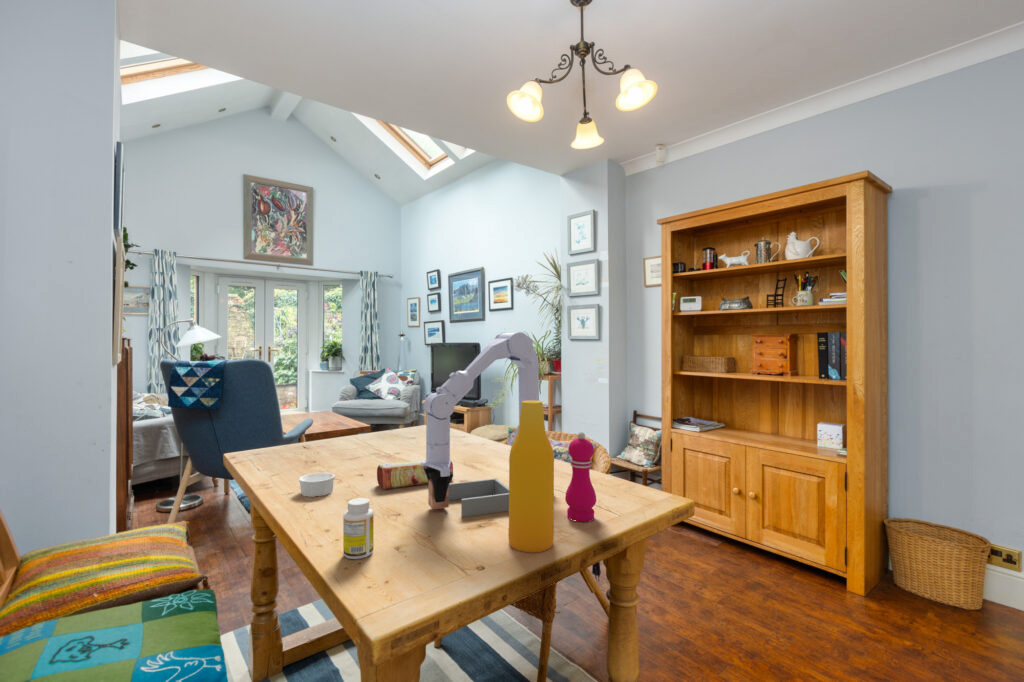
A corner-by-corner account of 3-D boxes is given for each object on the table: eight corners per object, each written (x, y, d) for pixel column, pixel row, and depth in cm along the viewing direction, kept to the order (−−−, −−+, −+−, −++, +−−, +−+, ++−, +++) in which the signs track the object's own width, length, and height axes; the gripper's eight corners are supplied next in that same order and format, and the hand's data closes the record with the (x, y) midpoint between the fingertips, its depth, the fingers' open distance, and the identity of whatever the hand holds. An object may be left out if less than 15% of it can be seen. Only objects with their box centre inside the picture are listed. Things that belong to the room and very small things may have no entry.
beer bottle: (540, 557, 92) (541, 405, 92) (499, 546, 97) (500, 402, 97) (561, 540, 100) (562, 400, 100) (523, 531, 105) (524, 397, 105)
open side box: (496, 493, 130) (496, 478, 130) (515, 509, 118) (515, 493, 118) (447, 499, 125) (447, 483, 125) (462, 517, 113) (462, 499, 113)
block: (444, 501, 120) (444, 477, 120) (448, 507, 116) (448, 482, 116) (428, 503, 118) (428, 479, 118) (432, 509, 115) (432, 484, 115)
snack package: (446, 476, 147) (446, 454, 147) (454, 482, 141) (454, 459, 141) (375, 486, 137) (376, 462, 137) (381, 492, 131) (381, 467, 131)
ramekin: (291, 495, 128) (291, 479, 128) (316, 486, 136) (316, 470, 136) (317, 500, 124) (317, 483, 124) (341, 490, 132) (341, 474, 132)
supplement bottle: (363, 545, 97) (363, 494, 97) (379, 553, 93) (379, 500, 93) (337, 554, 93) (337, 501, 93) (353, 563, 89) (353, 508, 89)
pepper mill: (598, 513, 115) (599, 430, 115) (593, 524, 109) (594, 436, 108) (568, 510, 118) (569, 428, 118) (562, 520, 111) (562, 433, 111)
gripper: (415, 438, 122) (415, 491, 122) (428, 450, 109) (428, 510, 109) (442, 436, 125) (442, 488, 125) (458, 448, 112) (458, 506, 112)
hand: (437, 498), depth 117 cm, fingers closed on block, 4 cm apart
